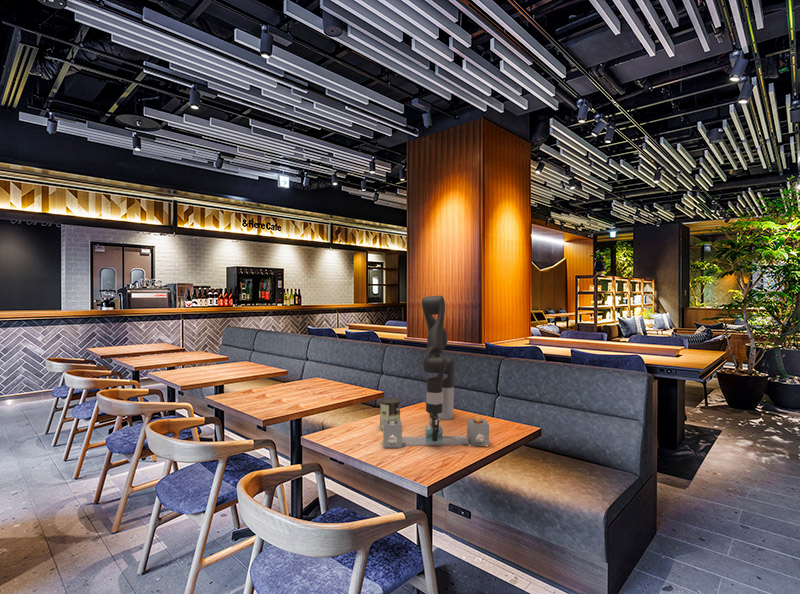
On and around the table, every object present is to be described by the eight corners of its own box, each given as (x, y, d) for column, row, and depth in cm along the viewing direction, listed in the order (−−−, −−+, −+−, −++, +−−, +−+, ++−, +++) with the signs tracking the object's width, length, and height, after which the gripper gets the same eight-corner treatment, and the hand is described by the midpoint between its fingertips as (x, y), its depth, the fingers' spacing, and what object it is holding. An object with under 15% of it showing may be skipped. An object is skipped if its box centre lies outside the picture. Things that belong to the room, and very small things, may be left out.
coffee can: (401, 425, 214) (401, 398, 214) (398, 432, 203) (398, 403, 203) (381, 424, 215) (382, 397, 215) (377, 430, 205) (378, 402, 205)
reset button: (474, 424, 190) (474, 415, 190) (480, 424, 191) (480, 415, 191) (475, 426, 188) (475, 417, 188) (481, 426, 188) (481, 416, 188)
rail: (400, 442, 190) (400, 435, 190) (465, 441, 192) (465, 434, 192) (401, 446, 184) (401, 440, 184) (468, 446, 186) (468, 439, 186)
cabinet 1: (382, 441, 190) (383, 418, 190) (400, 441, 191) (400, 418, 191) (383, 448, 181) (383, 424, 181) (401, 448, 182) (402, 424, 182)
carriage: (425, 439, 190) (425, 425, 190) (440, 439, 191) (440, 425, 191) (426, 443, 185) (427, 429, 185) (442, 443, 185) (442, 428, 185)
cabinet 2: (467, 440, 193) (467, 419, 193) (483, 440, 193) (484, 418, 193) (471, 447, 184) (471, 424, 184) (489, 447, 185) (489, 424, 185)
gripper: (424, 397, 195) (423, 433, 195) (428, 405, 180) (427, 444, 180) (440, 397, 195) (439, 433, 195) (445, 405, 181) (444, 444, 181)
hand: (433, 438), depth 188 cm, fingers closed on carriage, 5 cm apart
